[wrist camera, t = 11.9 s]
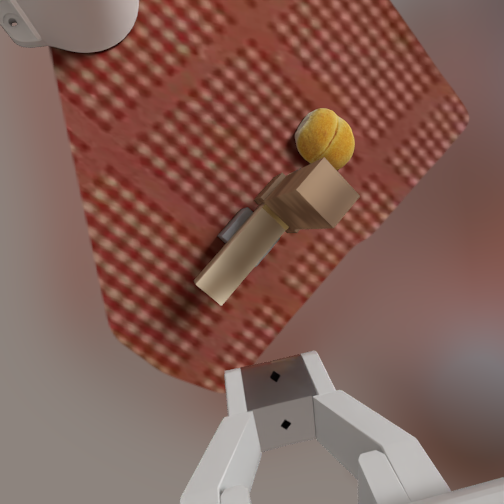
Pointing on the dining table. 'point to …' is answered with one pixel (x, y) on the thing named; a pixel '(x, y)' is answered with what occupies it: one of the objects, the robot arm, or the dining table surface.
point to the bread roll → (325, 138)
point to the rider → (309, 197)
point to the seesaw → (240, 250)
